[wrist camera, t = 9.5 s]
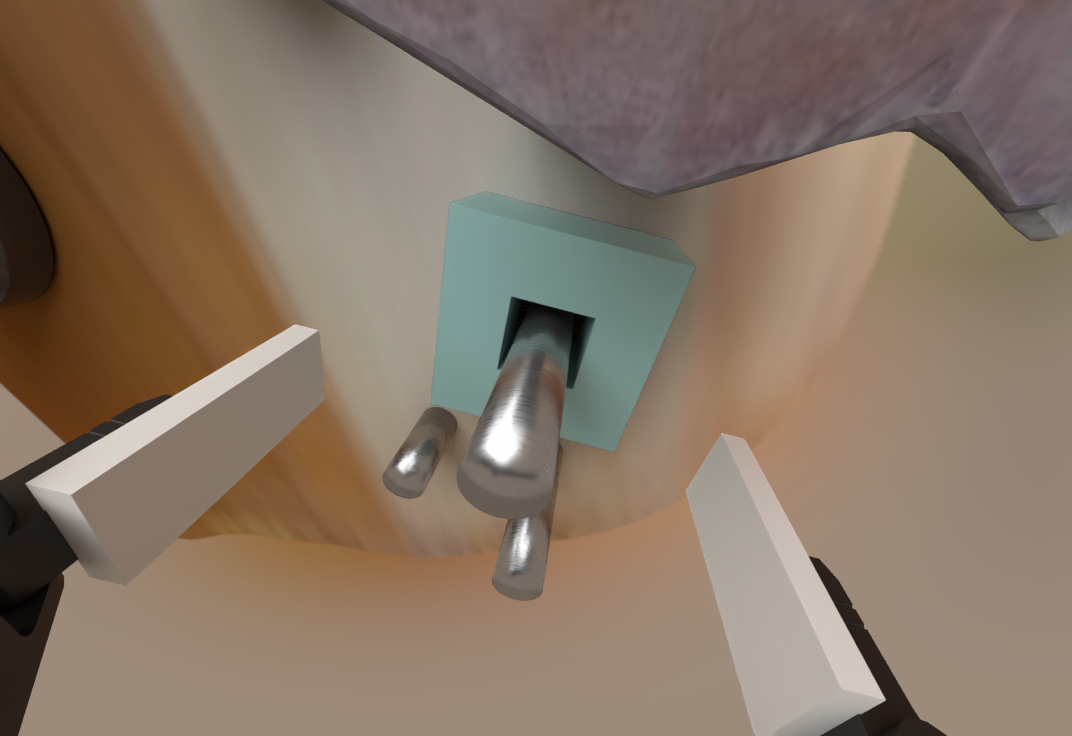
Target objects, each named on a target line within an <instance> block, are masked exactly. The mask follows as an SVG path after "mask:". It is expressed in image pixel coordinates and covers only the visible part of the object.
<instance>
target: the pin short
mask: <svg viewBox="0 0 1072 736" xmlns="http://www.w3.org/2000/svg"><path fill="white" fill-rule="evenodd" d="M456 427H457V423H456V420H455V418H454V416H453V415H452V414H451V413H450V412H448V411H447V410H445V409H443V408H438V407H433V408H429V409H427V410H426V411H425V412H424V413H423V415H422V416H421V418H420V419H419V421H418V422H417V424H416V425H415V427H414V428H413V430H412V431H411V433H410V434H409V436H408V437H407V439H406V440H405V442H404V443H403V445H402V446H401V448H400V449H399V451H398V452H397V454H396V455H395V457H394V458H393V460H392V461H391V463H390V464H389V466H388V467H387V469H386V470H385V472H384V473H383V477H382V478H383V482H384V485H385V486H386V488H387V489H388V490H389V491H391V492H392V493H393V494H395V495H397V496H399V497H402V498H408V499H413V498H417V497H419V496H421V495H422V494H423V492H424V490H425V488H426V486H427V484H428V482H429V481H430V479H431V477H432V475H433V473H434V471H435V469H436V467H437V465H438V463H439V461H440V459H441V457H442V455H443V453H444V451H445V449H446V447H447V445H448V443H449V441H450V439H451V438H452V436H453V434H454V432H455V430H456Z"/></svg>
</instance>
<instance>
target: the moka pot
mask: <svg viewBox="0 0 1072 736" xmlns="http://www.w3.org/2000/svg"><path fill="white" fill-rule="evenodd" d="M322 1H324V2H325V3H327V4H329V5H330V6H332V7H334V8H335V9H337V10H338V11H340V12H342V13H343V14H345V15H347V16H348V17H350V18H352V19H353V20H355V21H357V22H358V23H360V24H362V25H363V26H365V27H366V28H368V29H370V30H371V31H373V32H375V33H376V34H378V35H379V36H381V37H383V38H384V39H386V40H387V41H389V42H391V43H392V44H394V45H395V46H397V47H399V48H400V49H402V50H404V51H405V52H407V53H408V54H410V55H412V56H413V57H415V58H416V59H418V60H420V61H421V62H423V63H424V64H426V65H428V66H429V67H431V68H432V69H434V70H436V71H437V72H439V73H440V74H442V75H444V76H445V77H447V78H448V79H450V80H452V81H453V82H455V83H457V84H458V85H460V86H461V87H463V88H465V89H466V90H468V91H469V92H471V93H473V94H474V95H476V96H477V97H479V98H481V99H482V100H484V101H485V102H487V103H489V104H490V105H492V106H494V107H495V108H497V109H498V110H500V111H502V112H503V113H505V114H506V115H508V116H510V117H511V118H513V119H514V120H516V121H518V122H519V123H521V124H522V125H524V126H526V127H527V128H529V129H531V130H532V131H534V132H535V133H537V134H539V135H540V136H542V137H543V138H545V139H547V140H548V141H550V142H551V143H553V144H555V145H556V146H558V147H559V148H561V149H563V150H564V151H566V152H568V153H569V154H571V155H572V156H574V157H576V158H577V159H579V160H580V161H582V162H583V163H585V164H587V165H588V166H590V167H591V168H593V169H595V170H596V171H598V172H599V173H601V174H602V175H604V176H606V177H607V178H609V179H610V180H612V181H614V182H615V183H617V184H619V185H621V186H623V187H625V188H627V189H629V190H630V191H632V192H634V193H636V194H638V195H640V196H642V197H645V198H651V199H653V198H657V197H661V196H665V195H669V194H673V193H677V192H681V191H685V190H689V189H693V188H696V187H700V186H704V185H708V184H711V183H715V182H719V181H722V180H726V179H730V178H733V177H737V176H741V175H744V174H747V173H750V172H753V171H757V170H760V169H763V168H766V167H769V166H772V165H775V164H779V163H782V162H785V161H788V160H791V159H794V158H797V157H801V156H804V155H807V154H810V153H813V152H816V151H819V150H823V149H826V148H829V147H832V146H835V145H838V144H842V143H846V142H851V141H855V140H859V139H864V138H868V137H873V136H877V135H881V134H886V133H890V132H894V131H899V132H911V133H913V134H915V135H917V136H918V137H920V138H921V139H923V140H924V141H926V142H927V143H929V144H930V145H932V146H933V147H935V148H936V149H938V150H939V151H941V152H942V153H944V155H945V156H946V157H947V158H949V160H950V161H952V163H953V164H954V165H955V166H956V167H957V168H958V169H959V170H960V171H961V172H962V173H963V174H964V175H965V176H966V177H967V178H968V180H970V181H971V183H973V185H974V186H975V187H976V188H977V189H978V190H979V191H980V192H981V193H982V194H983V195H984V197H985V198H986V199H987V200H988V201H989V202H990V203H991V204H992V205H993V207H994V208H995V209H996V210H997V211H998V212H999V213H1000V214H1001V216H1002V217H1003V218H1004V219H1005V220H1006V221H1007V222H1008V223H1009V224H1010V225H1011V226H1012V227H1013V228H1015V229H1016V230H1017V231H1018V232H1020V233H1021V234H1022V235H1024V236H1025V237H1026V238H1027V239H1029V240H1030V241H1044V240H1049V239H1052V238H1056V237H1060V236H1061V235H1063V234H1065V233H1066V232H1068V231H1070V230H1072V0H322Z"/></svg>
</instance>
